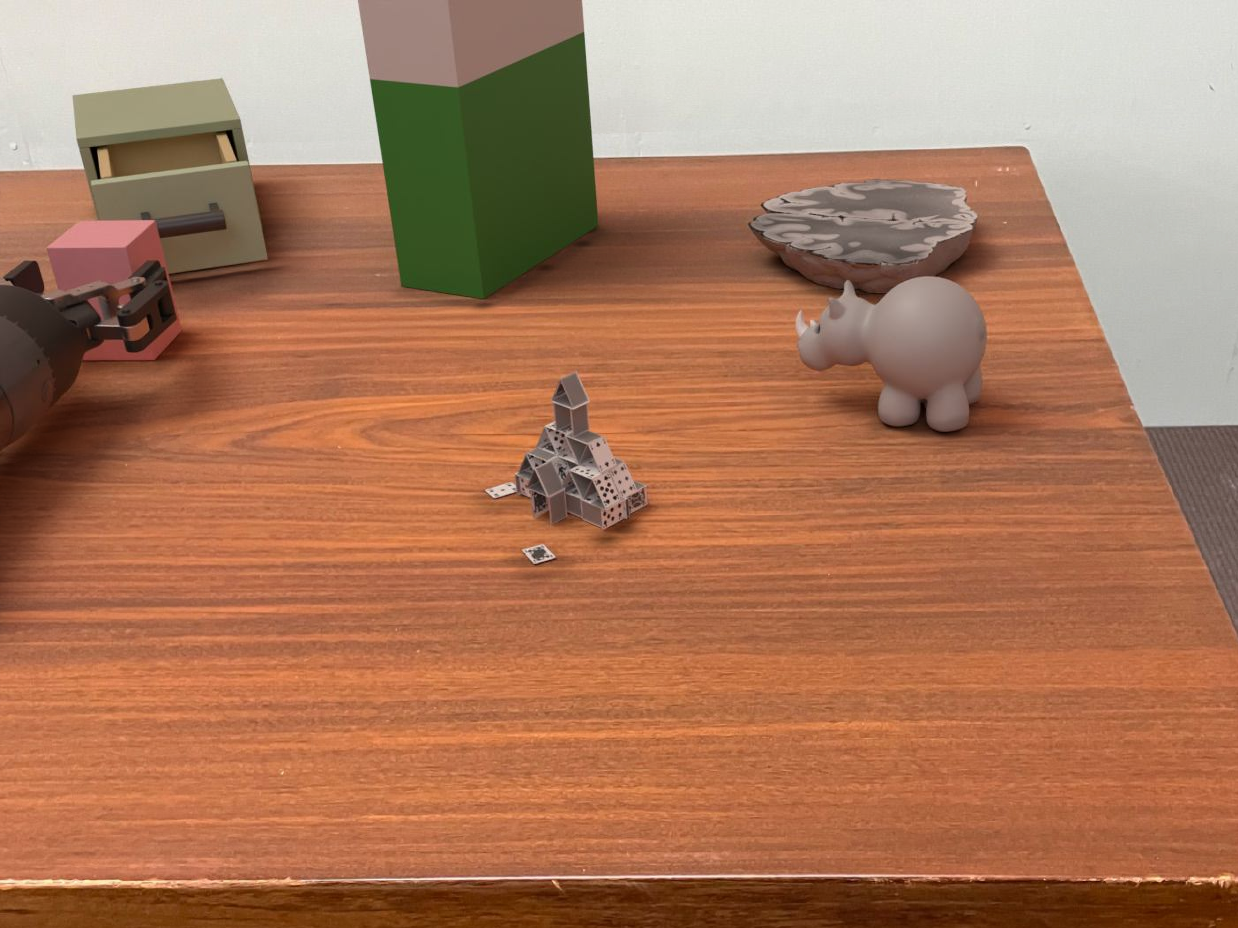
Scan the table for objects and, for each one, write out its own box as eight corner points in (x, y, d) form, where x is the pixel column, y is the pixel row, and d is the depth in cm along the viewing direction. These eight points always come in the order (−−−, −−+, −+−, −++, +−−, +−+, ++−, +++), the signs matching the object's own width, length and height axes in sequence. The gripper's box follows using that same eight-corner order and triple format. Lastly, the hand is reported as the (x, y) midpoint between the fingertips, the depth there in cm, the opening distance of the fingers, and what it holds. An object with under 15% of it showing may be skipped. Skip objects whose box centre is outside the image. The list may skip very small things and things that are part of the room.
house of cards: (430, 517, 86) (411, 390, 81) (542, 461, 91) (530, 339, 87) (540, 567, 81) (526, 435, 76) (652, 506, 86) (645, 378, 82)
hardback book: (521, 215, 129) (489, -103, 115) (598, 225, 126) (574, -100, 112) (401, 286, 116) (348, -63, 102) (483, 298, 113) (440, -58, 99)
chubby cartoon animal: (815, 373, 100) (817, 245, 95) (994, 398, 96) (1005, 266, 91) (776, 417, 95) (775, 285, 90) (964, 446, 91) (974, 309, 86)
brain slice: (784, 210, 128) (784, 173, 126) (988, 221, 124) (991, 184, 122) (722, 293, 112) (721, 253, 111) (951, 310, 108) (954, 269, 107)
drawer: (274, 276, 116) (255, 179, 112) (119, 299, 113) (92, 201, 109) (249, 209, 129) (230, 120, 125) (109, 228, 126) (86, 138, 122)
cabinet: (263, 230, 128) (240, 118, 122) (106, 252, 124) (76, 138, 119) (244, 182, 139) (222, 77, 134) (100, 201, 136) (72, 94, 130)
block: (78, 360, 106) (45, 247, 101) (108, 330, 110) (79, 220, 106) (154, 360, 106) (125, 246, 101) (182, 330, 110) (155, 219, 105)
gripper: (87, 311, 87) (186, 218, 100) (-150, 311, 88) (-22, 219, 101) (120, 431, 91) (211, 327, 105) (-106, 430, 93) (12, 327, 106)
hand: (96, 274), depth 103 cm, fingers open, 8 cm apart
